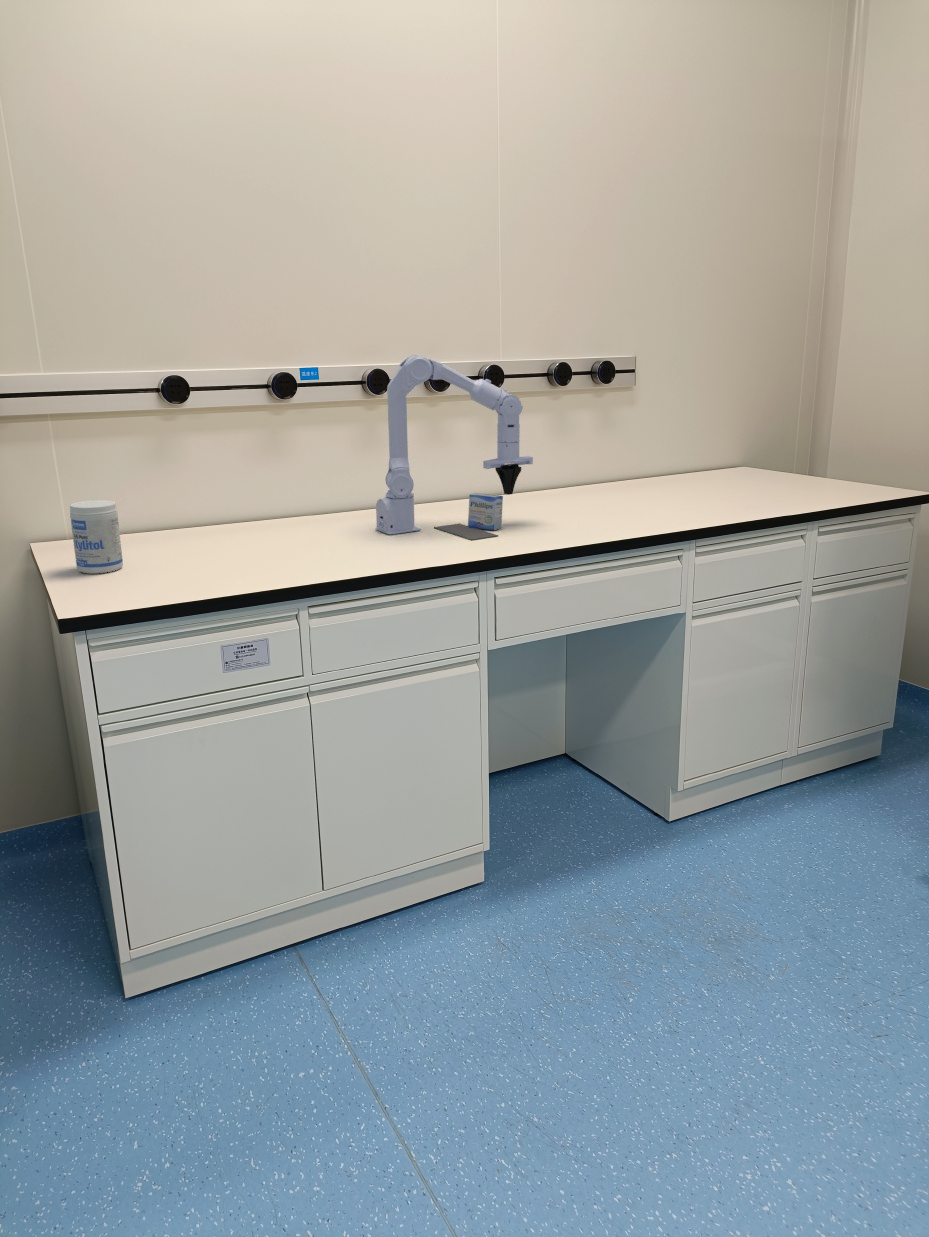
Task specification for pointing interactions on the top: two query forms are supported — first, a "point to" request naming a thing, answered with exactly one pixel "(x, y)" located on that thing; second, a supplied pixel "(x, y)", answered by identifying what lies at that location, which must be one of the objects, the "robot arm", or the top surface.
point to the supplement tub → (96, 536)
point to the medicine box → (485, 511)
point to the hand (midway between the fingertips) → (508, 493)
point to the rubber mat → (466, 531)
